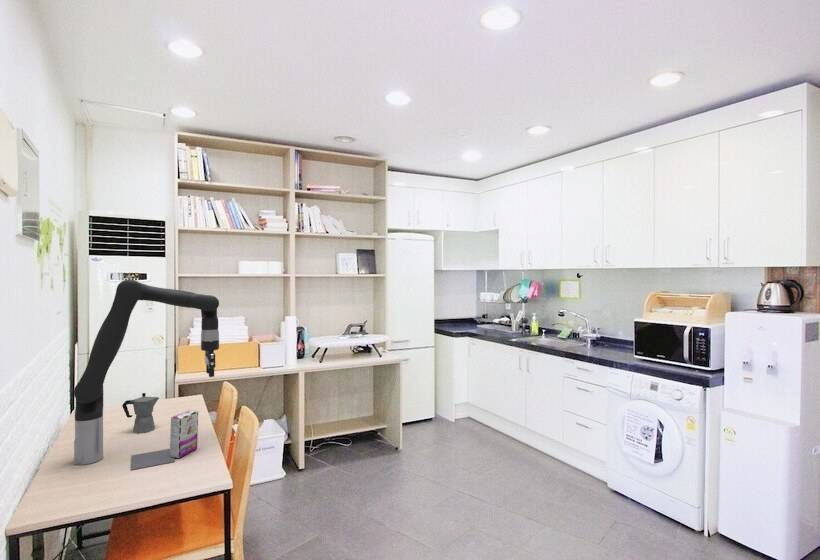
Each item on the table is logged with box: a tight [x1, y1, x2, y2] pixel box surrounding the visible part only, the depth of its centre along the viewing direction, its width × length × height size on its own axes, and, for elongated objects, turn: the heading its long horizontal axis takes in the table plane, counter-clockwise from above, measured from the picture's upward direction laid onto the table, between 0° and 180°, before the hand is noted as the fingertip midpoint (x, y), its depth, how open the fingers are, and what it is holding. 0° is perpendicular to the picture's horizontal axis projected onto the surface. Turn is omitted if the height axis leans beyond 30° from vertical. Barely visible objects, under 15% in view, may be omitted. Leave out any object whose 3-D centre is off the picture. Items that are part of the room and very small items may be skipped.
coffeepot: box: [122, 392, 160, 434], centre depth 216 cm, size 15×9×18 cm, turn 129°
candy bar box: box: [169, 409, 199, 459], centre depth 188 cm, size 11×5×16 cm, turn 168°
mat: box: [130, 448, 176, 471], centre depth 182 cm, size 15×16×1 cm
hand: (210, 375), depth 204 cm, fingers open, 8 cm apart
